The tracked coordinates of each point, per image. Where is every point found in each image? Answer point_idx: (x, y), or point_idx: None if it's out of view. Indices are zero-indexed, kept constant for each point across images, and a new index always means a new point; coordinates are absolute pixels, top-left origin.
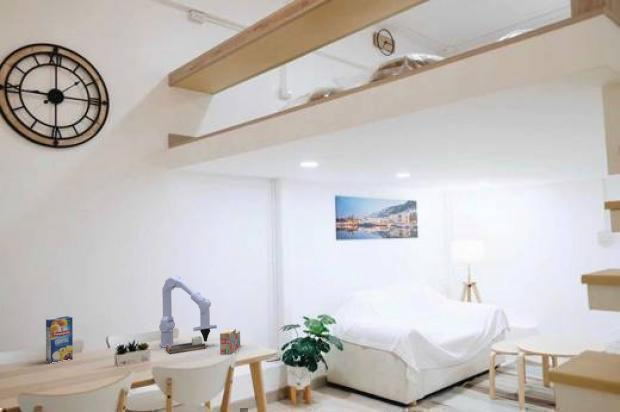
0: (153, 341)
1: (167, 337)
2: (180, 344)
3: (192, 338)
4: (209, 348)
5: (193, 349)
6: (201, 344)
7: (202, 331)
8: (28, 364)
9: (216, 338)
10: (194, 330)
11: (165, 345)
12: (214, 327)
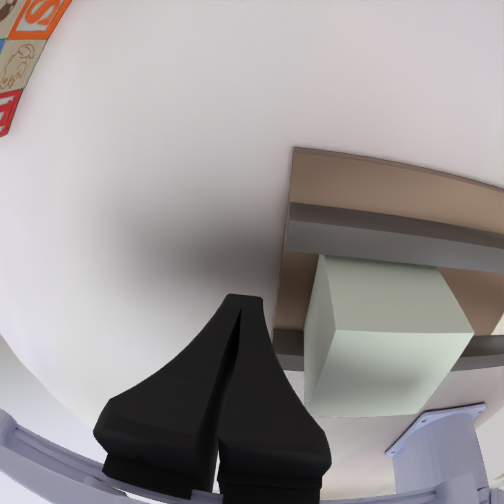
0: None
1: (475, 460)
2: (489, 360)
3: (429, 387)
4: (250, 131)
5: (471, 183)
6: (357, 225)
7: (328, 458)
8: None
9: (106, 403)
10: (472, 485)
11: (470, 417)
12: (17, 440)
